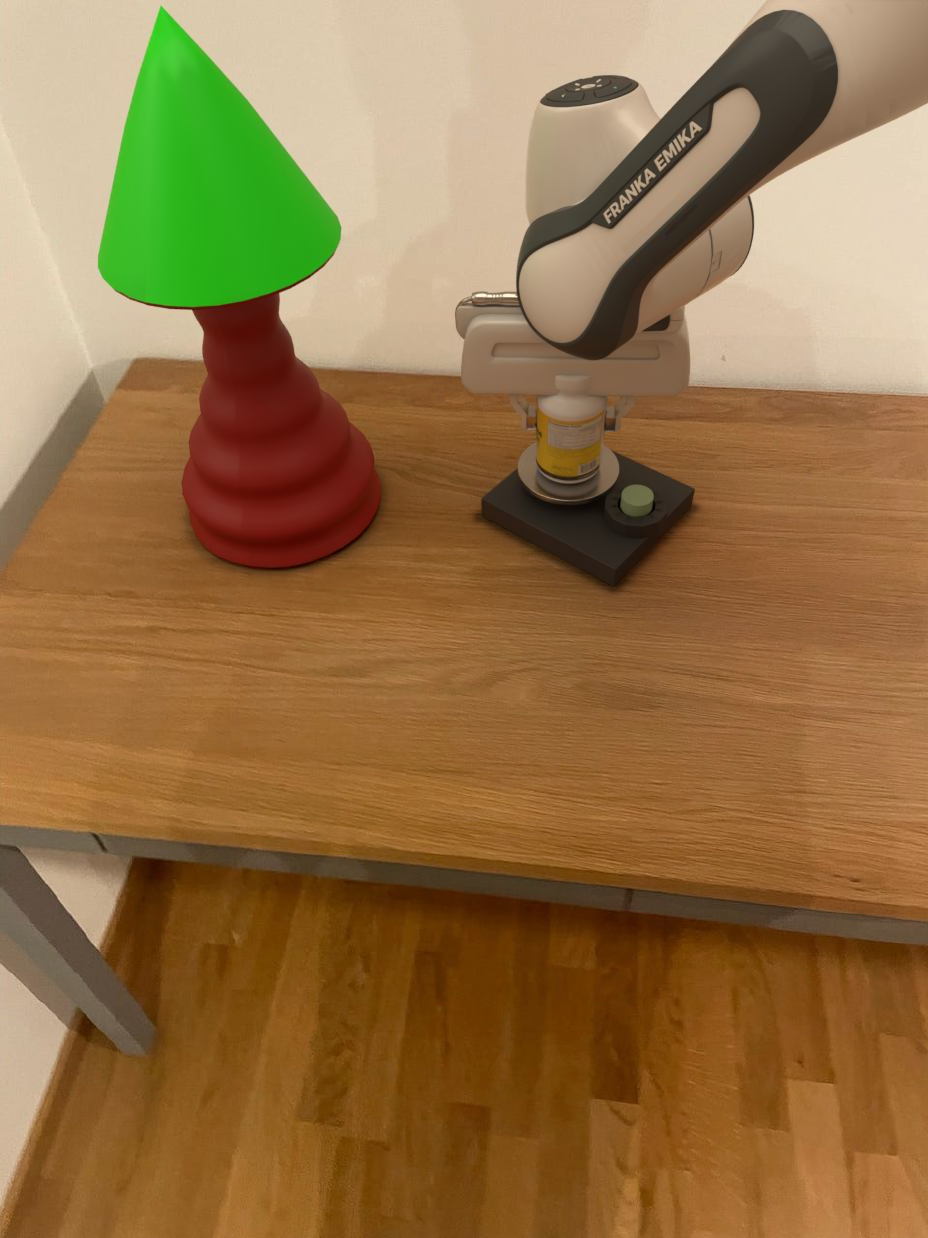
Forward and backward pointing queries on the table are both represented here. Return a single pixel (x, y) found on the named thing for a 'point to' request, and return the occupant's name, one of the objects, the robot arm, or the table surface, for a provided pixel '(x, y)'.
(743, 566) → the table surface
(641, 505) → the button
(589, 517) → the scale
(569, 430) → the pill bottle
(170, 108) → the table lamp
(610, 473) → the scale pan
